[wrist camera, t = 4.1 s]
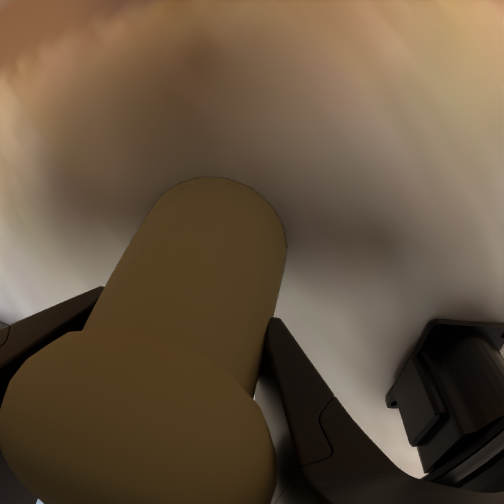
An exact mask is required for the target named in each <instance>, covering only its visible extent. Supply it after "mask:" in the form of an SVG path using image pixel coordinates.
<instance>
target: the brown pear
mask: <svg viewBox="0 0 504 504" xmlns="http://www.w3.org/2000/svg"><path fill="white" fill-rule="evenodd" d="M286 252H287V243H286V238H285V233H284V229H283V224H282V223H281V221H280V219H279V218H278V216H277V214H276V213H275V211H274V210H273V208H272V206H271V205H270V203H268V202H267V201H266V200H265V199H264V198H262V197H261V196H260V195H259V194H258V193H257V192H255V191H254V190H253V189H252V188H250V187H248V186H245V185H243V184H240V183H238V182H235V181H233V180H230V179H228V178H215V177H200V178H196V179H192V180H188V181H185V182H181V183H179V184H177V185H176V186H174V187H173V188H171V189H170V190H168V191H167V192H166V193H164V194H163V195H161V196H160V198H159V199H158V201H157V202H156V203H155V205H154V206H153V208H152V209H151V211H150V212H149V213H148V215H147V217H146V218H145V220H144V221H143V223H142V224H141V226H140V228H139V229H138V231H137V233H136V234H135V236H134V237H133V239H132V241H131V242H130V244H129V246H128V247H127V249H126V251H125V252H124V254H123V256H122V258H121V259H120V261H119V263H118V264H117V266H116V268H115V270H114V271H113V273H112V275H111V277H110V279H109V280H108V282H107V284H106V286H105V288H104V289H103V291H102V293H101V295H100V297H99V299H98V301H97V302H96V304H95V306H94V308H93V310H92V312H91V314H90V316H89V318H88V320H87V322H86V324H85V326H84V328H83V330H82V331H74V332H68V333H66V334H64V335H63V336H61V337H60V338H58V339H56V340H55V341H53V342H52V343H50V344H48V345H47V346H45V347H44V348H42V349H41V350H39V351H38V352H37V353H35V354H34V355H32V356H31V357H29V358H28V359H27V360H26V361H25V362H24V363H23V365H22V366H21V367H20V368H19V370H18V371H17V372H16V374H15V375H14V376H13V377H12V379H11V380H10V382H9V385H8V387H7V390H6V393H5V396H4V399H3V402H2V405H1V408H0V450H1V452H2V454H3V456H4V458H5V460H6V462H7V463H8V465H9V467H10V469H11V471H12V472H13V473H14V475H15V476H16V477H17V479H18V480H19V481H20V482H21V483H22V484H23V485H24V486H25V487H26V488H27V489H28V490H30V491H31V492H32V493H33V494H34V495H35V496H36V497H37V498H38V499H40V500H41V501H42V502H43V503H44V504H271V501H272V498H273V495H274V492H275V489H276V486H277V455H276V451H275V448H274V445H273V441H272V438H271V434H270V431H269V428H268V426H267V423H266V421H265V418H264V416H263V413H262V410H261V408H260V406H259V405H258V404H257V403H256V402H255V401H254V400H253V398H254V394H255V390H256V386H257V382H258V378H259V374H260V369H261V363H262V357H263V351H264V344H265V334H266V328H267V325H268V322H269V320H270V318H271V317H273V316H274V311H275V307H276V303H277V298H278V294H279V289H280V285H281V281H282V276H283V271H284V267H285V259H286Z"/></svg>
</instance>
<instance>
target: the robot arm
mask: <svg viewBox="0 0 504 504" xmlns="http://www.w3.org/2000/svg"><path fill="white" fill-rule="evenodd" d="M104 288H105V287H103V286H100V287H97V288H95V289H92V290H90V291H88V292H85V293H83V294H81V295H78V296H76V297H73V298H71V299H69V300H66V301H64V302H62V303H59V304H57V305H55V306H52V307H50V308H48V309H45V310H43V311H41V312H38V313H36V314H34V315H32V316H29V317H27V318H25V319H22V320H20V321H18V322H16V323H13V324H12V325H11V326H10V325H9V326H7V327H4V328H2V329H0V408H1V405H2V402H3V399H4V396H5V393H6V390H7V387H8V385H9V382H10V380H11V379H12V377H13V376H14V375H15V374H16V372H17V371H18V370H19V368H20V367H21V366H22V365H23V363H24V362H25V361H26V360H27V359H28V358H29V357H31V356H32V355H34V354H35V353H37V352H38V351H39V350H41V349H42V348H44V347H45V346H47V345H48V344H50V343H52V342H53V341H55V340H56V339H58V338H60V337H61V336H63V335H64V334H66V333H68V332H74V331H82V330H83V328H84V326H85V324H86V322H87V320H88V318H89V316H90V314H91V312H92V310H93V308H94V306H95V304H96V302H97V301H98V299H99V297H100V295H101V293H102V291H103V289H104ZM435 329H436V330H435ZM434 330H435V331H434ZM503 344H504V324H496V323H481V322H467V321H454V320H443V319H435V320H433V321H431V322H430V323H429V324H428V325H427V327H426V329H425V331H424V333H423V335H422V337H421V339H420V341H419V343H418V345H417V346H416V348H415V350H414V352H413V354H412V356H411V357H410V359H409V361H408V363H407V365H406V366H405V368H404V370H403V372H402V373H401V375H400V377H399V378H398V380H397V382H396V383H395V385H394V387H393V388H392V390H391V391H390V393H389V395H388V396H387V398H386V400H385V401H386V405H387V407H388V408H399V411H400V414H401V417H402V420H403V424H404V427H405V430H406V434H407V437H408V441H409V443H410V445H411V446H412V447H417V449H418V453H419V456H420V460H421V463H422V467H423V471H424V473H429V474H427V475H426V476H424V477H422V478H421V479H418V478H414V477H412V476H410V475H408V474H406V473H405V472H403V471H402V470H401V469H399V468H398V467H397V466H396V465H395V464H394V463H393V462H392V461H391V460H390V459H389V458H388V457H387V456H386V455H385V454H384V453H383V452H382V451H381V450H380V449H379V448H378V447H377V445H376V444H375V443H374V442H373V441H372V440H371V439H370V438H369V437H368V436H367V435H366V434H365V433H364V432H363V430H362V429H361V428H360V427H359V426H358V425H357V424H356V422H355V421H354V420H353V419H352V418H351V416H350V415H349V414H348V412H347V411H346V410H345V409H344V407H343V406H342V405H341V403H340V402H339V400H338V399H337V398H336V397H334V394H333V392H332V391H331V389H330V388H329V387H328V385H327V384H326V382H325V381H324V380H323V378H322V377H321V375H320V374H319V373H318V371H317V370H316V368H315V367H314V366H313V364H312V363H311V361H310V360H309V358H308V357H307V356H306V354H305V353H304V351H303V350H302V349H301V347H300V346H299V344H298V343H297V341H296V340H295V339H294V337H293V336H292V334H291V333H290V331H289V330H288V329H287V327H286V326H285V324H284V323H283V321H282V320H281V319H280V318H275V317H271V318H270V320H269V322H268V325H267V328H266V334H265V344H264V351H263V357H262V363H261V369H260V374H259V378H258V382H257V386H256V390H255V402H256V403H257V404H258V405H259V406H260V408H261V410H262V413H263V416H264V418H265V421H266V423H267V426H268V428H269V431H270V434H271V438H272V441H273V445H274V448H275V451H276V455H277V486H276V489H275V492H274V495H273V498H272V501H271V504H504V358H503V356H502V355H501V353H500V352H499V351H500V349H501V348H502V346H503ZM37 499H38V498H37V497H36V496H35V495H34V494H33V493H32V492H31V491H30V490H28V489H27V488H26V487H25V486H24V485H23V484H22V483H21V482H20V481H19V480H18V479H17V477H16V476H15V475H14V473H13V472H12V471H11V469H10V467H9V465H8V463H7V462H6V460H5V458H4V456H3V454H2V452H1V450H0V504H36V502H37Z"/></svg>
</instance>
